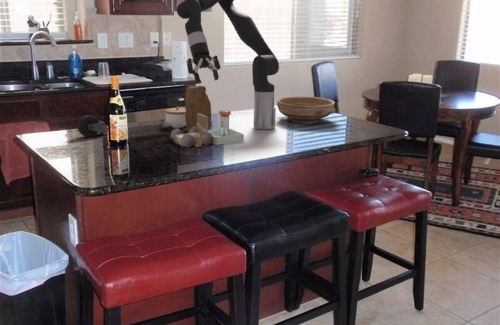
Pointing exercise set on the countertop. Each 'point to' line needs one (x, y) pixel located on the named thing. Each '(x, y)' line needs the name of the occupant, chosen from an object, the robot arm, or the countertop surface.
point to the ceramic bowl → (305, 108)
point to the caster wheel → (91, 126)
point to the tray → (226, 137)
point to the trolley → (194, 134)
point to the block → (196, 105)
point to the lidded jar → (176, 117)
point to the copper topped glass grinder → (224, 123)
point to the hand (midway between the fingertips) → (207, 81)
